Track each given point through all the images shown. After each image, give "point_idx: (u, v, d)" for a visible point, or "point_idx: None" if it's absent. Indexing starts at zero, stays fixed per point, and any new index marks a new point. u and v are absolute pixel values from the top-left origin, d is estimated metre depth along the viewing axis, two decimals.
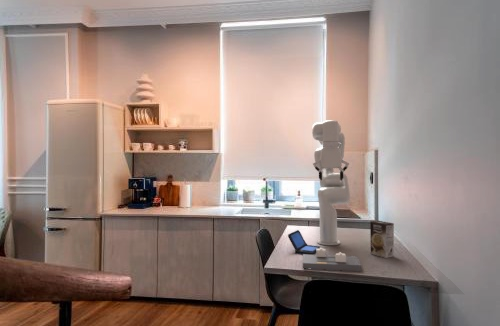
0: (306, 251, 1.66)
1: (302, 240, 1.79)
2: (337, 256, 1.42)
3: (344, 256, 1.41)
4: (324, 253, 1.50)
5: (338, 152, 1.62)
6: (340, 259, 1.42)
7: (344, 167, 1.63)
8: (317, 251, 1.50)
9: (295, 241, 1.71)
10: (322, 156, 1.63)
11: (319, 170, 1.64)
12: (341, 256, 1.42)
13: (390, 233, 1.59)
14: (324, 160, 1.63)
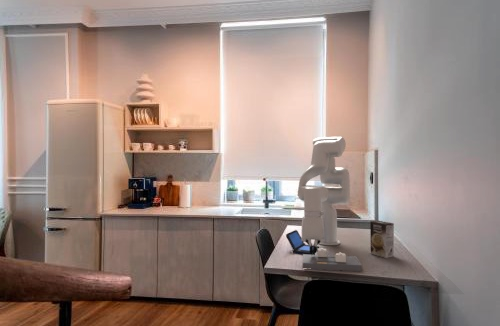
0: (304, 251, 1.66)
1: (300, 240, 1.79)
2: (337, 256, 1.42)
3: (344, 256, 1.41)
4: (325, 253, 1.49)
5: (320, 222, 1.49)
6: (340, 259, 1.42)
7: None
8: (318, 251, 1.50)
9: (293, 241, 1.72)
10: (303, 226, 1.51)
11: (309, 244, 1.51)
12: (341, 256, 1.42)
13: (390, 233, 1.59)
14: (305, 231, 1.50)
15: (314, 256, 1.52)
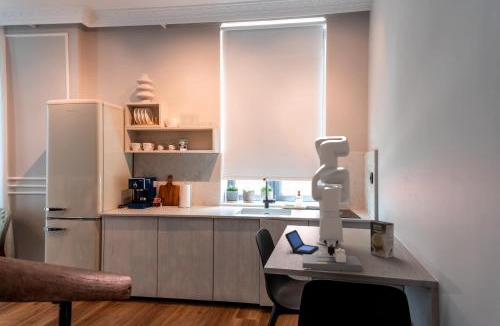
0: (303, 251, 1.67)
1: (299, 240, 1.79)
2: (337, 256, 1.42)
3: (344, 256, 1.41)
4: None
5: (339, 223, 1.48)
6: (340, 259, 1.42)
7: None
8: (336, 252, 1.49)
9: (292, 241, 1.72)
10: (321, 227, 1.49)
11: (328, 245, 1.50)
12: (341, 256, 1.42)
13: (390, 233, 1.59)
14: (323, 231, 1.49)
15: (314, 256, 1.52)
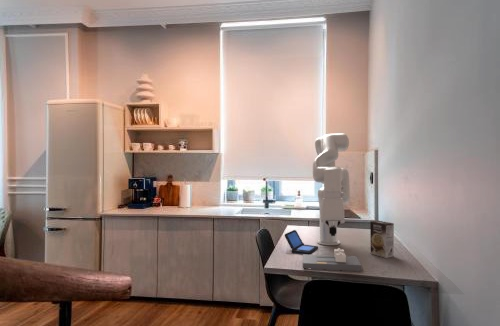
0: (302, 251, 1.67)
1: (299, 240, 1.80)
2: (337, 256, 1.42)
3: (344, 256, 1.41)
4: None
5: (341, 203, 1.48)
6: (340, 259, 1.42)
7: None
8: (335, 252, 1.49)
9: (292, 241, 1.72)
10: (323, 207, 1.49)
11: (329, 225, 1.50)
12: (341, 256, 1.42)
13: (390, 233, 1.59)
14: (325, 212, 1.49)
15: (314, 256, 1.52)
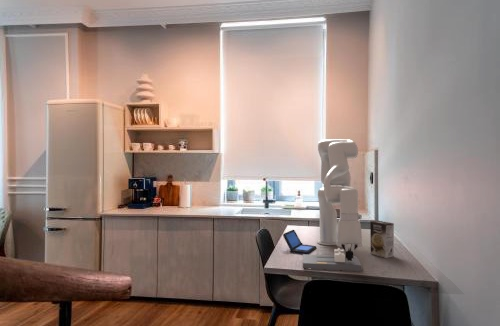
0: (301, 250, 1.67)
1: (297, 239, 1.80)
2: (336, 256, 1.42)
3: (343, 256, 1.41)
4: None
5: (358, 226, 1.40)
6: (339, 259, 1.42)
7: None
8: (335, 252, 1.49)
9: (290, 240, 1.73)
10: (339, 230, 1.41)
11: (346, 249, 1.41)
12: (340, 256, 1.42)
13: (390, 233, 1.59)
14: (342, 235, 1.41)
15: (314, 256, 1.52)
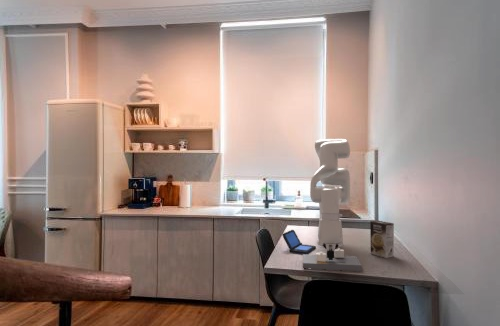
0: (300, 250, 1.67)
1: (297, 239, 1.80)
2: (317, 255, 1.43)
3: (324, 255, 1.43)
4: (342, 254, 1.48)
5: (339, 226, 1.41)
6: (320, 258, 1.43)
7: None
8: (335, 252, 1.49)
9: (289, 240, 1.73)
10: (320, 230, 1.42)
11: (327, 249, 1.43)
12: (321, 255, 1.43)
13: (390, 233, 1.59)
14: (323, 234, 1.42)
15: (314, 256, 1.52)
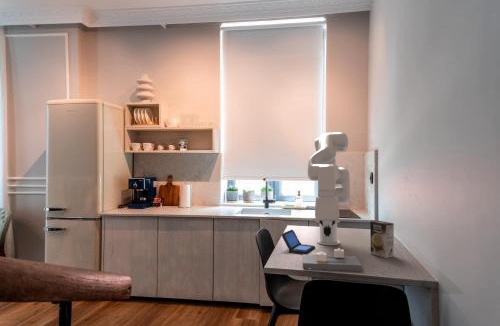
0: (299, 250, 1.68)
1: (296, 239, 1.80)
2: (318, 255, 1.43)
3: (325, 255, 1.43)
4: (342, 254, 1.48)
5: (335, 202, 1.42)
6: (321, 258, 1.43)
7: (332, 222, 1.43)
8: (335, 252, 1.49)
9: (289, 240, 1.73)
10: (317, 206, 1.43)
11: (324, 225, 1.44)
12: (322, 255, 1.43)
13: (390, 233, 1.59)
14: (319, 211, 1.43)
15: (314, 256, 1.52)
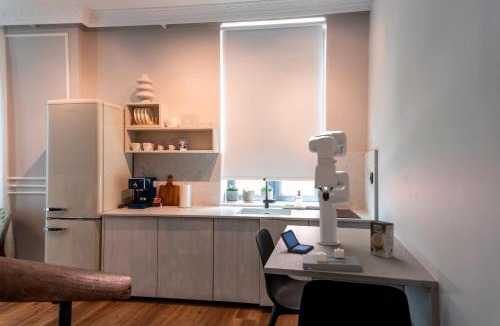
0: (298, 250, 1.68)
1: (295, 239, 1.81)
2: (318, 255, 1.43)
3: (325, 255, 1.43)
4: (342, 254, 1.48)
5: (333, 170, 1.57)
6: (321, 258, 1.43)
7: (330, 188, 1.58)
8: (335, 252, 1.49)
9: (288, 240, 1.74)
10: (317, 174, 1.58)
11: (322, 191, 1.58)
12: (322, 255, 1.43)
13: (390, 233, 1.59)
14: (319, 178, 1.58)
15: (314, 256, 1.52)
